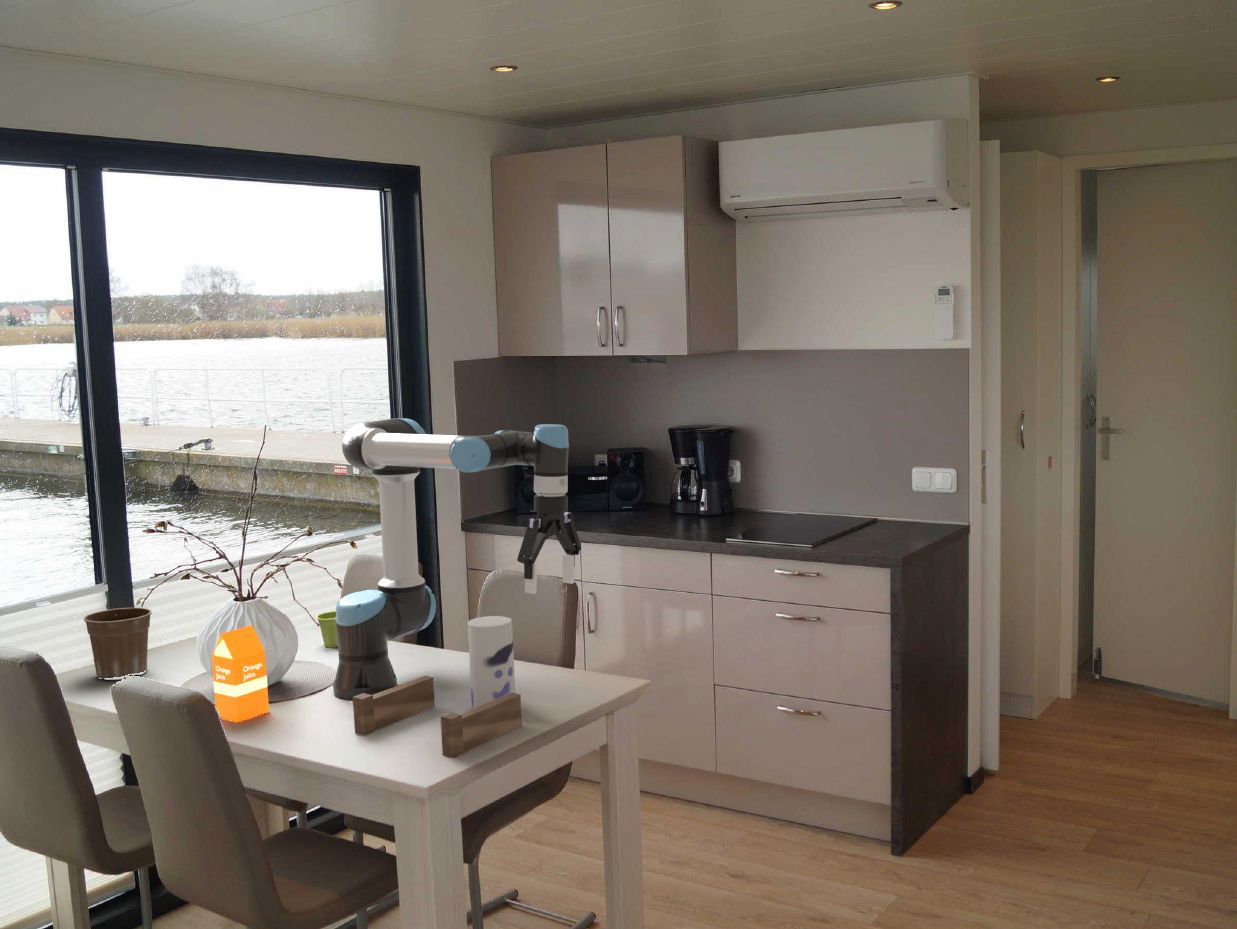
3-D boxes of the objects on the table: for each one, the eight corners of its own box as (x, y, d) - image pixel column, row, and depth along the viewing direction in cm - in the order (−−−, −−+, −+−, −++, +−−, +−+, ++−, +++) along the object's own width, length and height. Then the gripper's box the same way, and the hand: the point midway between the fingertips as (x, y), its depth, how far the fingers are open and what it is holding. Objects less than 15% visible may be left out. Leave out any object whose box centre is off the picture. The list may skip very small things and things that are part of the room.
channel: (354, 733, 244) (352, 696, 243) (426, 705, 262) (424, 671, 261) (453, 757, 227) (451, 718, 227) (522, 726, 245) (521, 689, 244)
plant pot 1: (155, 662, 307) (150, 603, 305) (158, 677, 292) (153, 616, 291) (89, 671, 300) (83, 611, 299) (88, 687, 286) (83, 624, 284)
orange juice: (215, 717, 258) (209, 631, 256) (248, 706, 265) (241, 623, 263) (237, 723, 254) (231, 635, 251) (270, 712, 261) (263, 626, 259)
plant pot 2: (343, 650, 313) (341, 619, 312) (312, 649, 315) (310, 618, 314) (358, 641, 322) (356, 611, 321) (327, 640, 324) (325, 610, 323)
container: (497, 716, 252) (493, 628, 250) (462, 709, 257) (458, 623, 255) (524, 703, 260) (520, 617, 258) (490, 697, 266) (486, 613, 264)
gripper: (528, 501, 240) (527, 600, 242) (597, 490, 260) (595, 580, 263) (501, 498, 244) (500, 595, 246) (571, 487, 265) (569, 576, 267)
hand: (549, 588), depth 255 cm, fingers open, 13 cm apart
